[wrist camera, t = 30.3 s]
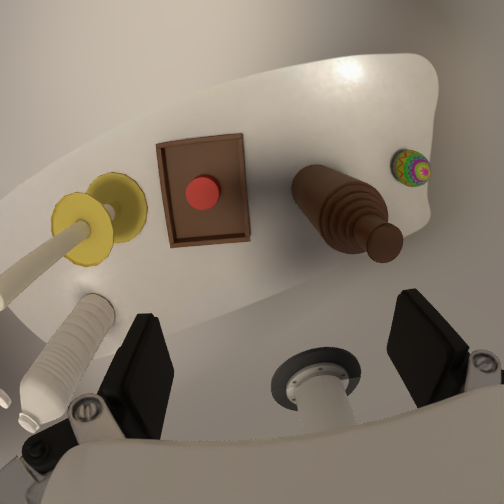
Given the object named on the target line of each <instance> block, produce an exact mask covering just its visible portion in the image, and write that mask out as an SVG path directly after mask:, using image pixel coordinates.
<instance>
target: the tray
mask: <svg viewBox="0 0 504 504" xmlns="http://www.w3.org/2000/svg"><path fill="white" fill-rule="evenodd" d="M156 152H157V160H158V169H159V177H160V184H161V192H162V199H163V205H164V212H165V218H166V225H167V231H168V236H169V242H170V248H177V247H188V246H200V245H212V244H224V243H236V242H248V241H250V230H249V217H248V205H247V192H246V180H245V167H244V155H243V142H242V134H241V133H240V134H229V135H219V136H209V137H201V138H193V139H185V140H178V141H171V142H165V143H159V144H156ZM204 174H206V175H211V176H213V177H214V178H215V179H217V181H218V182H219V184H220V188H221V191H220V195H219V198H218V201H217V202H216V204H215V205H214V206H213V207H211V208H210V209H207V210H198V209H195V208H194V207H192V206H191V205H190V204H189V202H188V201H187V198H186V189H187V186H188V185H189V183H190V182H191V181H192V180H193V179H195V178H196V177H197V176H199V175H204Z"/></svg>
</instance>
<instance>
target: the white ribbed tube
mask: <svg viewBox="0 0 504 504" xmlns="http://www.w3.org/2000/svg"><path fill="white" fill-rule="evenodd" d="M114 318H115V317H114V310H113V308H112V306H110V303H109V302H108V301H107V300H106V299H104V298H103V297H101V296H99V295H96V294H91V295H90V294H89V295H86V296H85V297H83V298H82V299H81V301H80V302H79V303H78V305H77V306H76V307H75V308H74V309H73V311H72V313H70V315H69V316H68V317H67V318H66V320H65V321H64V322H63V323H62V325H61V326H60V327H59V329H58V330H57V331H56V333H55V334H54V335H53V336H52V338H51V339H50V340H49V342H48V344H47V345H46V346H45V348H44V349H43V350H42V352H41V353H40V355H39V356H38V357H37V359H36V361H35V362H34V363H33V365H32V366H31V368H30V369H29V370H28V371H27V373H26V374H25V375H24V377H23V379H22V381H21V384H20V397H21V407H22V413H20V414H19V415H20V418H19V423H20V425H21V426H22V427H23V428H25V429H26V430H27V431H29V432H31V433H35V431H36V430H37V429H39V425H40V424H44V423H47V422H49V421H52V420H55V419H57V418H59V417H61V416H62V415H63V414H64V412H65V411H66V409H67V407H68V404H69V402H70V399H71V398H72V396H73V394H74V392H75V390H76V388H77V386H78V384H79V382H80V381H81V378H82V377H83V375H84V372H85V371H86V369H87V368H88V366H89V364H90V362H91V360H92V359H93V357H94V355H95V353H96V351H97V350H98V348H99V345H100V344H101V342H102V341H103V338H104V337H105V335H106V334H107V332H108V330H109V329H110V327H111V325H112V324H113V322H114ZM9 401H10V402H9ZM10 404H11V399H10V398H9V396H8V395H7V394H6V393H5V392H4V391H3V390H2V389H0V405H1V406H2V407H4V408H8V407H9V405H10Z"/></svg>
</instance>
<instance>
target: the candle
mask: <svg viewBox="0 0 504 504" xmlns="http://www.w3.org/2000/svg"><path fill="white" fill-rule="evenodd" d="M147 209H148V207H147V203H146V199H145V195H144V193H143V191H142V190H141V188H140V187H139V185H138V184H137V182H135V181H134V180H132V179H131V178H129V177H128V176H126V175H125V174H120V173H113V172H111V173H108V174H104V175H101V176H99V177H98V178H97V179H96V180H94V181H93V182H92V183H91V184H90V186H89V188H88V190H87V192H86V193H80V192H75V193H72V194H69V195H66V196H64V197H63V198H62V199H61V200H60V201H59V202H58V203H57V204H56V205H55V208H54V211H53V214H52V216H51V232H52V236H53V237H52V238H51V239H49V240H48V241H46V242H45V243H44V244H42V245H41V246H39V247H38V248H36V249H35V250H33V251H32V252H31V253H29V254H28V255H26V256H25V257H24V258H22V259H21V260H19V261H18V262H17V263H15V264H14V265H13V266H11V267H10V268H9V269H7V270H6V271H5V272H3V273H2V274H1V275H0V311H2V310H3V309H4V308H5V307H6V306H7V305H9V304H10V303H11V302H12V301H13V300H14V299H15V298H16V297H17V296H18V295H19V294H20V293H21V292H22V291H24V290H25V289H26V288H27V287H28V286H29V285H30V284H31V283H32V282H34V281H35V280H36V279H37V278H38V277H39V276H40V275H42V274H43V273H44V272H45V271H46V270H47V269H49V268H50V267H51V266H52V265H53V264H55V263H56V262H57V261H58V260H59V259H61V258H62V257H63V256H64V257H65V258H67V259H68V260H69V261H71V262H72V263H73V264H76V265H80V266H83V267H90V266H96V265H98V264H100V263H101V262H102V261H103V260H105V259H106V258H107V257H108V255H109V253H110V251H111V249H112V247H113V244H114V243H122V242H127V241H130V240H131V239H132V238H134V237H135V236H137V235H138V234H139V233H140V231H141V230H142V228H143V226H144V224H145V222H146V217H147Z"/></svg>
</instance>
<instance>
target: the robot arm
mask: <svg viewBox="0 0 504 504" xmlns="http://www.w3.org/2000/svg"><path fill="white" fill-rule="evenodd" d="M468 349H469V346H468V345H467V344H466V343H465V341H464V340H463V339H462V338H461V337H460V336H459V335H458V333H457V332H456V331H455V330H454V329H453V328H452V327H451V326H450V324H449V323H448V322H447V321H446V320H445V319H444V318H443V317H442V316H441V314H440V313H439V312H438V311H437V310H436V309H435V308H434V307H433V306H432V305H431V304H430V303H429V302H428V301H427V300H426V298H425V297H424V296H423V295H422V294H421V293H420V292H419V291H418V290H417V289H409V290H403V291H402V292H401V294H399V295H398V297H397V302H396V307H395V312H394V317H393V321H392V326H391V331H390V335H389V339H388V343H387V353H388V355H389V357H390V359H391V361H392V362H393V364H394V366H395V368H396V369H397V371H398V373H399V375H400V377H401V378H402V380H403V382H404V384H405V386H406V387H407V389H408V391H409V393H410V395H411V397H412V398H413V400H414V402H415V404H416V406H417V408H418V409H415V410H412V411H409V412H405V413H402V414H398V415H395V416H391V417H387V418H384V419H380V420H376V421H372V422H368V423H363V424H359V425H357V423H356V420H355V417H354V415H353V411H352V408H351V406H350V403H349V400H348V397H347V394H346V392H345V390H346V388H347V386H348V383H349V377H348V374H347V371H346V370H345V369H344V368H343V367H342V366H340V365H338V364H335V363H328V362H323V363H316V364H312V365H309V366H307V367H304V368H303V369H301V370H299V371H298V372H296V373H295V374H294V375H293V376H292V377H291V378H290V379H289V381H288V383H287V385H286V393H287V397H288V398H289V400H290V401H291V402H293V403H294V404H296V405H297V408H298V413H299V419H300V424H301V429H302V435H296V436H288V437H278V438H269V439H255V440H238V441H173V440H160V437H161V432H162V428H163V423H164V418H165V414H166V408H167V404H168V400H169V395H170V391H171V386H172V382H173V378H174V368H173V365H172V362H171V359H170V356H169V352H168V349H167V346H166V343H165V339H164V336H163V333H162V329H161V326H160V322H159V319H158V317H154V315H153V314H152V313H147V314H137V316H136V317H135V319H134V321H133V323H132V325H131V327H130V329H129V331H128V333H127V335H126V337H125V339H124V341H123V344H122V346H121V347H119V348H118V350H117V352H116V354H115V356H114V358H113V360H112V362H111V364H110V366H109V369H108V371H107V373H106V375H105V377H104V379H103V381H102V384H101V386H100V388H99V390H98V393H97V394H93V393H87V394H83V395H80V396H78V397H77V398H75V399H74V400H73V401H72V402H71V403H70V405H69V407H68V418H67V419H65V420H63V421H61V422H59V423H57V424H55V425H53V426H52V427H49V428H47V429H45V430H43V431H41V432H39V433H37V434H35V435H33V436H31V437H30V438H28V439H27V440H26V441H25V443H24V445H23V447H22V456H21V457H20V458H19V457H18V456H16V457H15V458H13V459H12V460H11V461H10V462H9V463H8V464H6V465H5V466H4V467H3V468H2V469H1V470H0V504H504V370H502V369H501V363H500V360H499V358H498V357H497V356H496V355H495V354H493V353H492V352H490V351H487V350H476V351H474V352H472V353H471V354H470V353H469V352H468Z"/></svg>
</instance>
